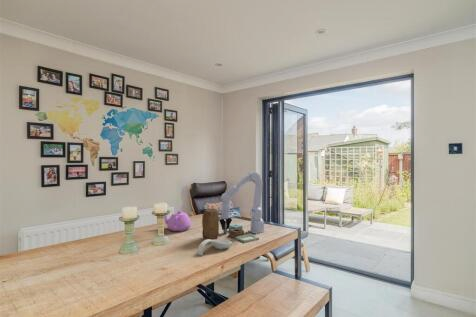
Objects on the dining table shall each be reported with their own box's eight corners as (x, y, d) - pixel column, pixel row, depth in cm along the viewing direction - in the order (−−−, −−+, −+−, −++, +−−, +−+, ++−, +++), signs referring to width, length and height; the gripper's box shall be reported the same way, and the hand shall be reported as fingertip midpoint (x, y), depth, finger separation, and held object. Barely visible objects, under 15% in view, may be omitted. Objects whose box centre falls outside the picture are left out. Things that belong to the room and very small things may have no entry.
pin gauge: (225, 232, 192) (225, 221, 192) (227, 233, 190) (227, 222, 190) (222, 233, 190) (223, 221, 190) (224, 233, 188) (224, 222, 188)
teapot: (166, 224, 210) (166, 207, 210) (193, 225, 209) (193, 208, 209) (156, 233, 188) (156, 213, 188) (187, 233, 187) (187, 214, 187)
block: (219, 241, 173) (220, 210, 172) (210, 243, 167) (211, 211, 167) (209, 237, 180) (209, 207, 180) (200, 239, 175) (200, 209, 175)
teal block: (235, 229, 201) (235, 223, 201) (242, 231, 196) (242, 225, 196) (228, 230, 196) (229, 225, 196) (235, 233, 191) (235, 227, 191)
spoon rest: (221, 243, 170) (221, 231, 169) (235, 247, 162) (235, 235, 162) (192, 253, 152) (192, 240, 151) (206, 258, 144) (206, 245, 144)
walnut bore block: (237, 233, 189) (237, 228, 189) (243, 236, 183) (244, 230, 183) (229, 235, 185) (229, 229, 185) (235, 238, 179) (235, 232, 179)
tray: (250, 235, 185) (250, 233, 185) (258, 239, 178) (258, 237, 178) (235, 238, 178) (235, 236, 178) (244, 242, 170) (244, 240, 170)
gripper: (230, 208, 197) (230, 226, 198) (214, 210, 189) (213, 229, 189) (236, 209, 192) (236, 228, 192) (219, 212, 183) (218, 231, 183)
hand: (225, 229), depth 190 cm, fingers open, 3 cm apart
